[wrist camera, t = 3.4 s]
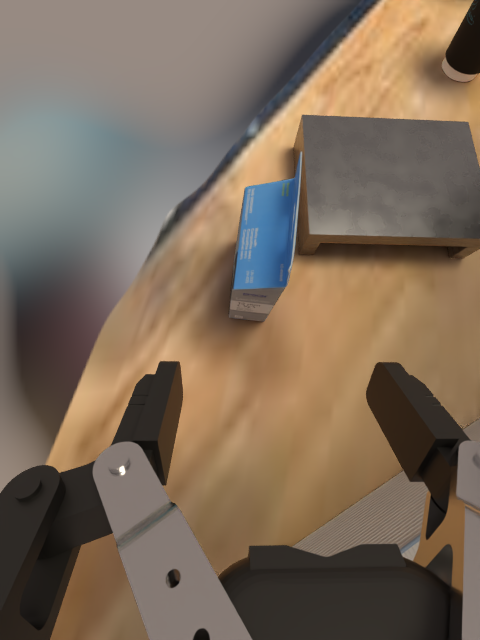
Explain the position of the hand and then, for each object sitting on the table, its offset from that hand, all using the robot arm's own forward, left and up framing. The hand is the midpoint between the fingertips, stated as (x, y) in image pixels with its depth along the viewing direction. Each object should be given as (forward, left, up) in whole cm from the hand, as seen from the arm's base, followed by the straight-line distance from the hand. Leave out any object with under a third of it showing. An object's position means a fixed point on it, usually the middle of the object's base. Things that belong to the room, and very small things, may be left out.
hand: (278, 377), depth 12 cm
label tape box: (0, -11, -16) cm, 19 cm away
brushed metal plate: (-14, -21, -15) cm, 29 cm away
